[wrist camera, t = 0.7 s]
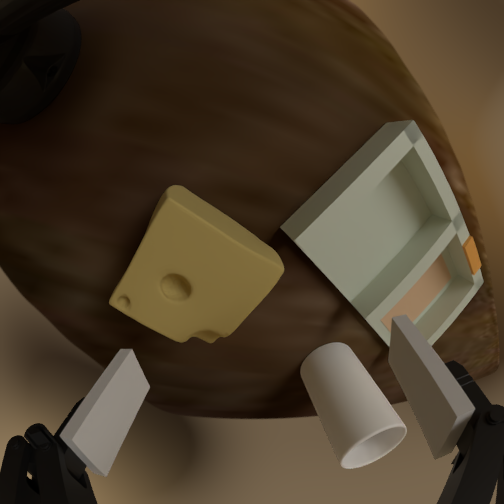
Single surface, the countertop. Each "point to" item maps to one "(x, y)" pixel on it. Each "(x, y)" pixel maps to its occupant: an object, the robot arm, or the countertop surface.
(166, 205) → the cheese
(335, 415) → the cup
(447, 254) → the tray
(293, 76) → the countertop surface
